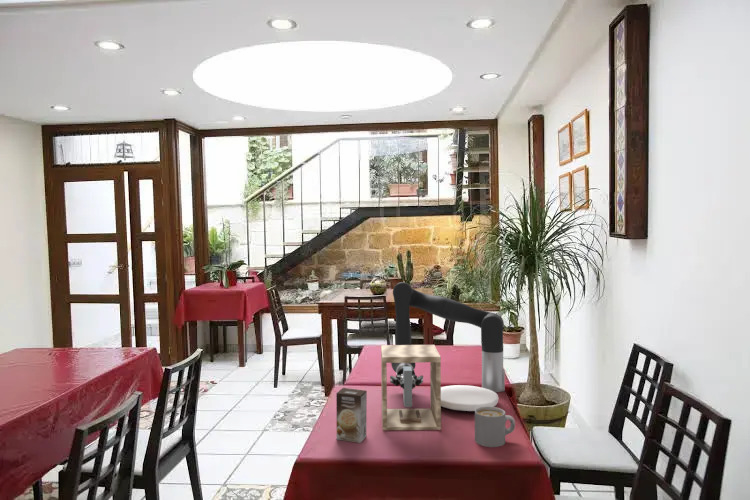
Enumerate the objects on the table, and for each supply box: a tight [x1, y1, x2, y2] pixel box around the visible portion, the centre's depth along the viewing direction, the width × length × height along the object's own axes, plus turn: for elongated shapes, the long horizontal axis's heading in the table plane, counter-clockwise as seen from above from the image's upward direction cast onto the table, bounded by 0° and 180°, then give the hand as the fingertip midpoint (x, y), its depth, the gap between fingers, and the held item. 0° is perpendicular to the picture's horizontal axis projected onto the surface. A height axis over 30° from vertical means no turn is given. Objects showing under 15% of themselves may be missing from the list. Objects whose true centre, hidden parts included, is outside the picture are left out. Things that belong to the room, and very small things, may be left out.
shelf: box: [380, 344, 442, 431], centre depth 195 cm, size 20×19×26 cm
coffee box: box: [335, 387, 368, 444], centre depth 179 cm, size 9×6×16 cm
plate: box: [441, 384, 499, 412], centre depth 213 cm, size 28×6×27 cm
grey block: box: [402, 366, 413, 408], centre depth 203 cm, size 3×6×14 cm, turn 0°
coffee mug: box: [474, 406, 516, 448], centre depth 176 cm, size 13×10×10 cm
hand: (408, 386), depth 200 cm, fingers closed on grey block, 3 cm apart
